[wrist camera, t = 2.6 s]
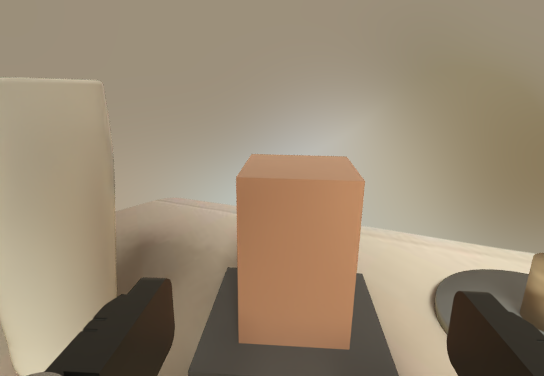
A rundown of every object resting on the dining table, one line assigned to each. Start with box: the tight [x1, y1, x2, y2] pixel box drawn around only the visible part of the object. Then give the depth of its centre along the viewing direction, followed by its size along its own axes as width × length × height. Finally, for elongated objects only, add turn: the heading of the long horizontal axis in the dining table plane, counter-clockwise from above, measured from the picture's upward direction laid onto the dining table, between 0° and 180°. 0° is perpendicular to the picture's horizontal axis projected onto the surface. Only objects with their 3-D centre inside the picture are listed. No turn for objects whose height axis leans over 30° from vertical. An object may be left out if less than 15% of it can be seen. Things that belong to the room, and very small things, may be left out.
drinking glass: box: [0, 77, 117, 376], centre depth 18 cm, size 7×7×15 cm
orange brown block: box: [236, 154, 365, 350], centre depth 22 cm, size 6×6×10 cm
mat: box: [188, 267, 399, 376], centre depth 23 cm, size 11×11×1 cm
